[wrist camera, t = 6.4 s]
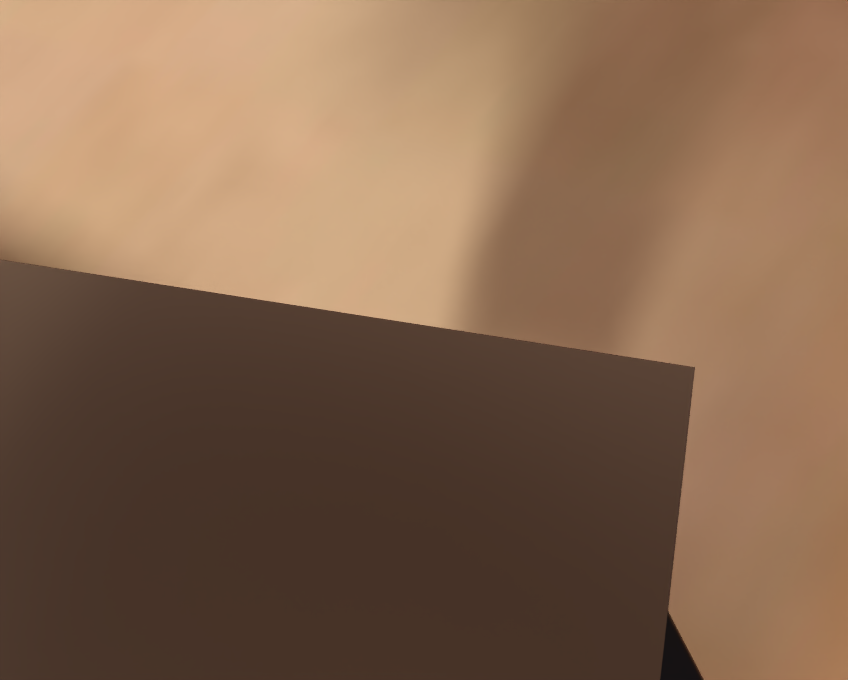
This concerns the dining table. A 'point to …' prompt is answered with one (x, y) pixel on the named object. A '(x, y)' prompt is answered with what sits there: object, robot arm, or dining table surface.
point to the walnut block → (322, 493)
